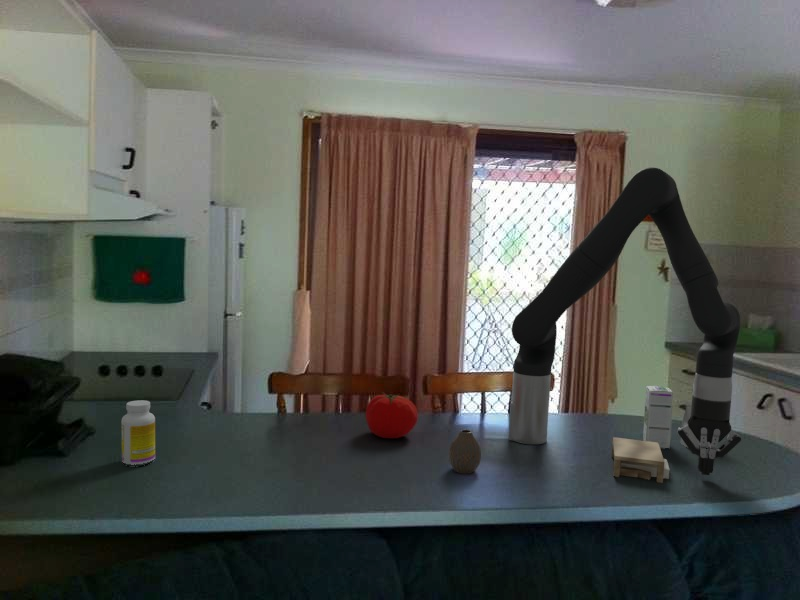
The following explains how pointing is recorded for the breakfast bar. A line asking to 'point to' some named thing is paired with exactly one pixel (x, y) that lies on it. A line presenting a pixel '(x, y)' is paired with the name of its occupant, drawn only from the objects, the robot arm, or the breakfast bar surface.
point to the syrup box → (658, 415)
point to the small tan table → (637, 457)
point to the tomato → (391, 416)
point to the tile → (647, 467)
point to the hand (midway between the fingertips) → (705, 473)
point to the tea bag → (691, 436)
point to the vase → (465, 453)
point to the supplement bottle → (138, 433)
